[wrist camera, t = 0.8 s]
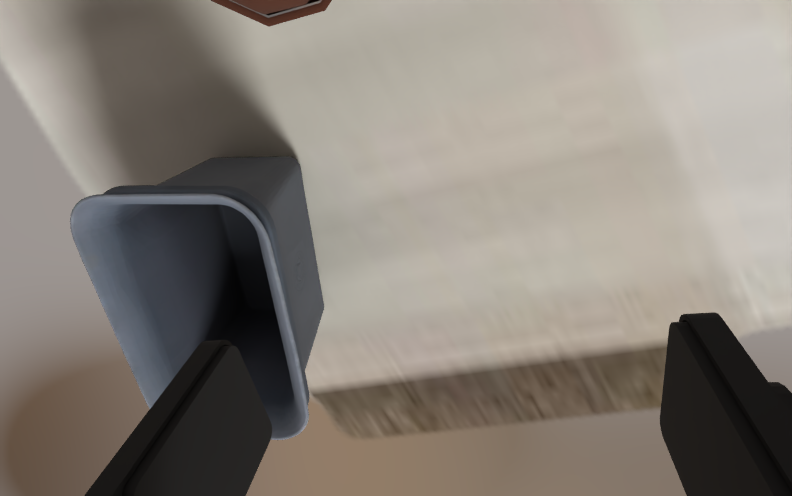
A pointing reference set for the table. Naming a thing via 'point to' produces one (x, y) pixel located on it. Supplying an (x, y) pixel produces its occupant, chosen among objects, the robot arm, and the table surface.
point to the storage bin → (210, 275)
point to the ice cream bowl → (275, 9)
